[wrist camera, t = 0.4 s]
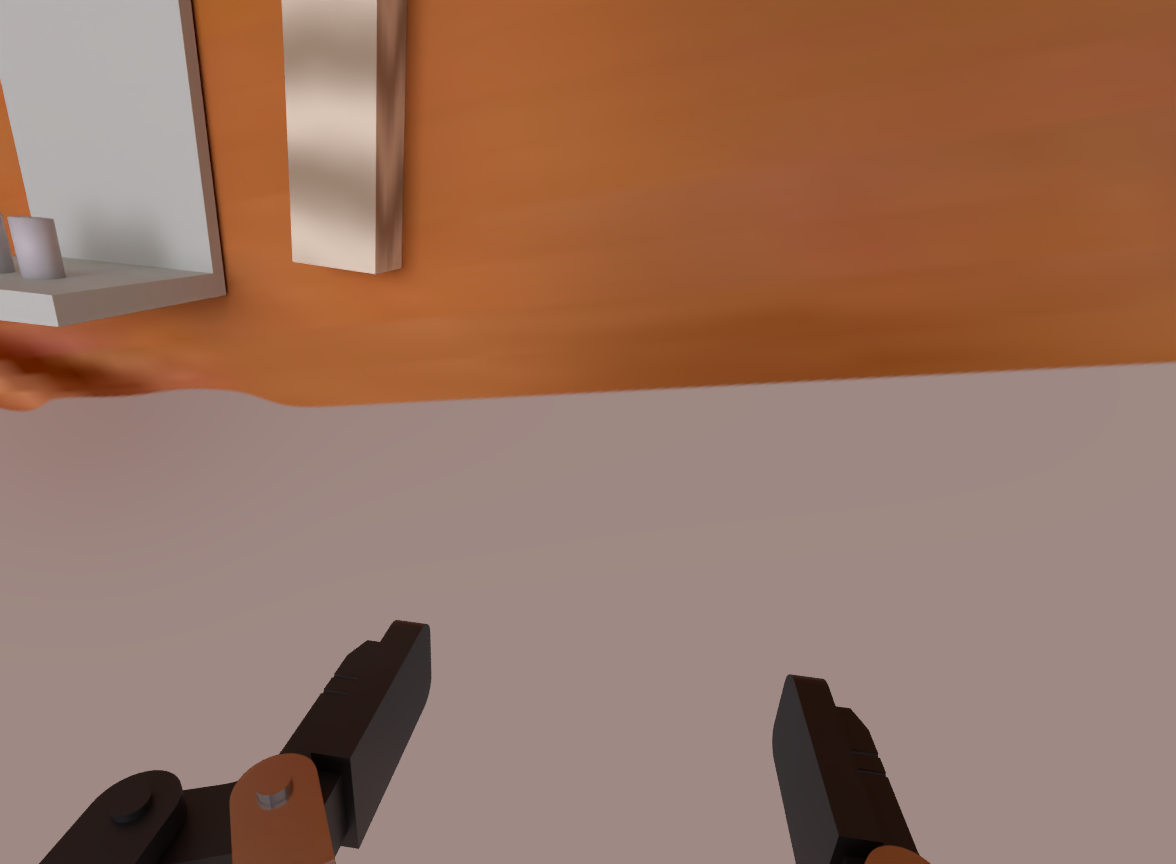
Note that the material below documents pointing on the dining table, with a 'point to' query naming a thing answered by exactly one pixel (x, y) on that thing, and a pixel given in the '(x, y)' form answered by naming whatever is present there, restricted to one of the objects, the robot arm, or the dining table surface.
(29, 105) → the grey c-shaped frame
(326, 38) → the shelf board
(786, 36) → the dining table surface
